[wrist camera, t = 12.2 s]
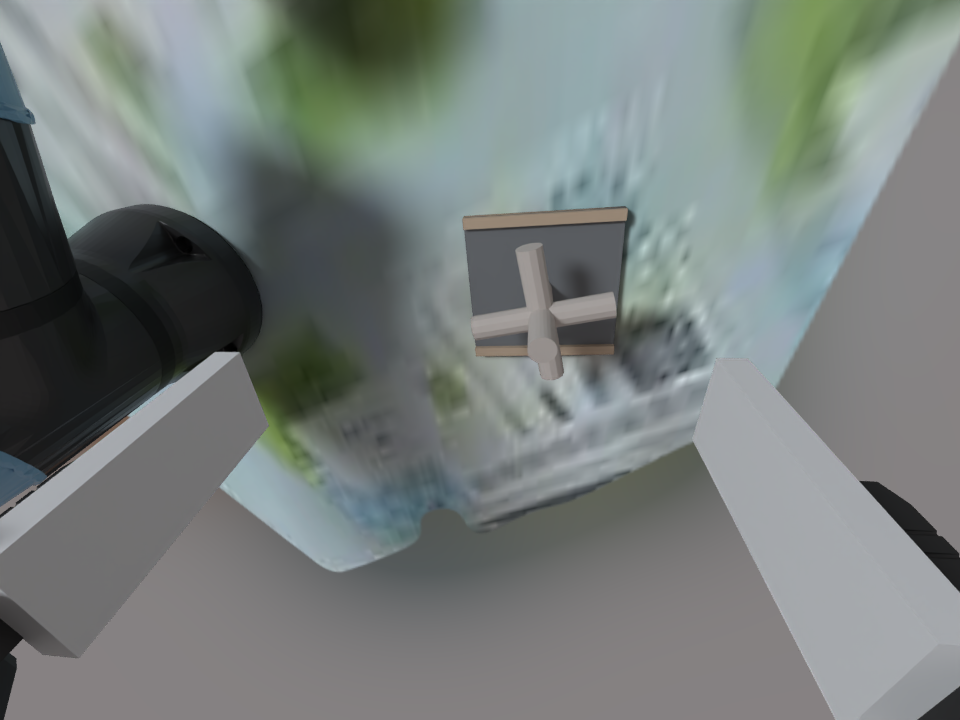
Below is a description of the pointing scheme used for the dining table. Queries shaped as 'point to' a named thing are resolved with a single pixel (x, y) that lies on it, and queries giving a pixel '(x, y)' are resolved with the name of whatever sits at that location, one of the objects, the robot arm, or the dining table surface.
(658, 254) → the dining table surface
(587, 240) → the mat
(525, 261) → the pipe connector
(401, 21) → the dining table surface
